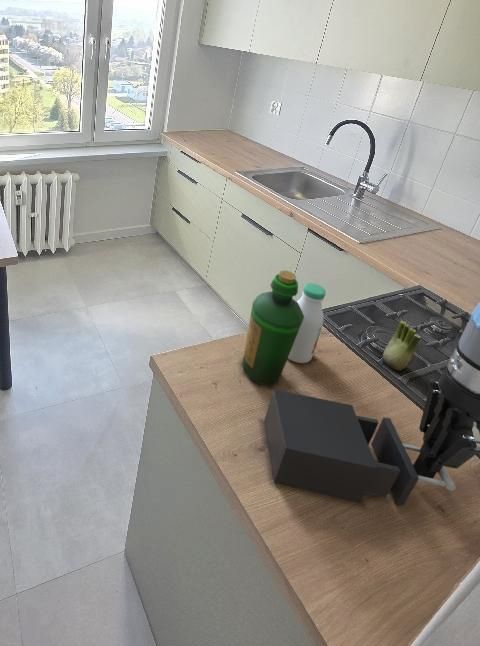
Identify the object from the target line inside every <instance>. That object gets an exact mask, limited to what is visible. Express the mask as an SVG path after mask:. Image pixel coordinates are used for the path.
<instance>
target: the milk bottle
mask: <svg viewBox="0 0 480 646" xmlns="http://www.w3.org/2000/svg"><path fill="white" fill-rule="evenodd" d="M301 293H302V296H301V297H300V298H299V299H298V300H297V301H296V302H297V303H298V304H299V306H300V308H301V311H302V313H303V315H304V319H303V321H302V324H301V326H300V329H299V331H298V334H297V336H296V339H295V341H294V344H293V346H292V349H291V351H290V354H289V356H288V359H287V360H290V361H292V362H294V363H297V364H306V363H309V362H310V361H311V360H312V358H313V357H314V354H315V351H316V347H317V345H318V342H319V339H320V336H321V332H322V328H323V325H324V320H325V318H324V310H323V307H322V306H323V305H322V302H323V301H324V299H325V296H326V290H325V288H324V287H323V286H322V285H320V284H317V283H312V282H308V283H305V285H304V286H303V290H302V292H301Z"/></svg>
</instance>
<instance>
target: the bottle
mask: <svg viewBox="0 0 480 646" xmlns="http://www.w3.org/2000/svg"><path fill="white" fill-rule="evenodd" d="M270 288H271V291H266V292H262V293H260V294H259V295H257V296H256V297H255V299H254V300H253V302H252V305H251V311H250V317H249V322H248V329H247V334H246V340H245V346H244V353H243V359H242V368H243V372H244V373H245V375H246V376H247V377H248V378H249V379H251V380H252V381H254V382H256V383H258V384H260V385H266V386H272V385H275V384H278V382H279V381H280V378H281V376H282V374H283V371H284V369H285V366H286V364H287V361H288V360H289V359H288V356H289V354H290V351H291V349H292V346H293V344H294V341H295V339H296V336H297V334H298V331H299V329H300V326H301V324H302V321H303V319H304V315H303V313H302V311H301V308H300V306H299V304H298V303H297V301H296V300H295V299H294V297H296V296H297V295H298V292H299V282H298V280H297V275H296V274H295V273H293V272H292V271H289V270H280V271H279V273H278V274H275V276H274V278H273V279H272V281H271V283H270Z"/></svg>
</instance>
